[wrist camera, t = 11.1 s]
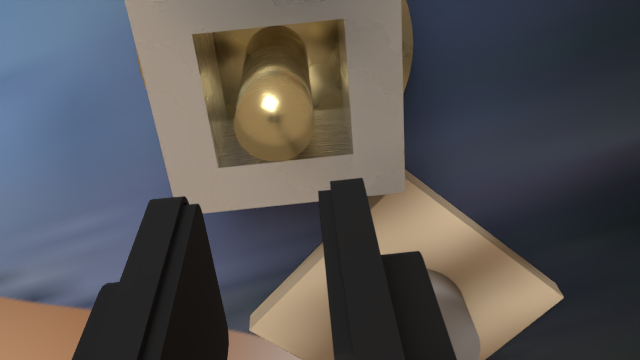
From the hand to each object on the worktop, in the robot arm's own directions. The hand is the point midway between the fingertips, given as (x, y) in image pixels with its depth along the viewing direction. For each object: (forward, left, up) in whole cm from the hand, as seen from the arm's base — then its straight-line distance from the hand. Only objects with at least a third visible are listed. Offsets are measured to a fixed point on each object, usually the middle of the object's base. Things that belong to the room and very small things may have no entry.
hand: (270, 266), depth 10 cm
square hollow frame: (0, 0, -11) cm, 11 cm away
